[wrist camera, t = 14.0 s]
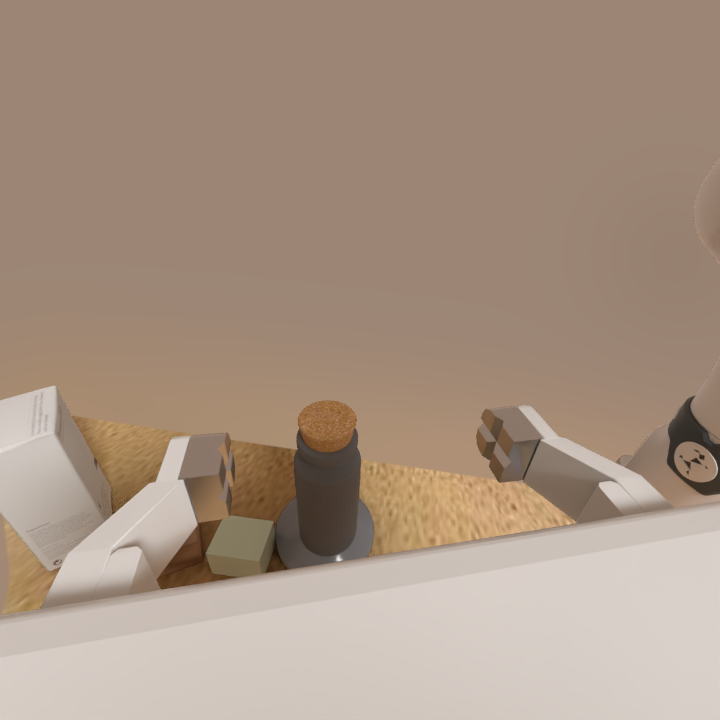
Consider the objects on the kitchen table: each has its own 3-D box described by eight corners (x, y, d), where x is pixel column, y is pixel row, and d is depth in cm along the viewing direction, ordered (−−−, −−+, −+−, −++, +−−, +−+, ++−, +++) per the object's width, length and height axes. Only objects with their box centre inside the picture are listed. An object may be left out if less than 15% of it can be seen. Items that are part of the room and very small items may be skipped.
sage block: (276, 541, 38) (273, 521, 36) (263, 582, 34) (259, 561, 32) (230, 535, 38) (224, 514, 36) (212, 574, 35) (205, 553, 33)
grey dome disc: (363, 489, 43) (363, 481, 42) (382, 575, 35) (383, 568, 34) (277, 500, 42) (276, 492, 41) (276, 594, 33) (274, 586, 32)
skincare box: (119, 542, 37) (60, 434, 29) (44, 576, 34) (-46, 466, 26) (110, 484, 42) (59, 380, 34) (45, 509, 39) (-27, 402, 31)
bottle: (314, 497, 40) (310, 389, 32) (364, 514, 39) (372, 405, 31) (288, 544, 36) (276, 432, 28) (344, 566, 34) (348, 454, 26)
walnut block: (199, 519, 39) (193, 498, 38) (204, 562, 36) (196, 541, 34) (147, 536, 38) (138, 515, 36) (146, 583, 34) (135, 562, 32)
